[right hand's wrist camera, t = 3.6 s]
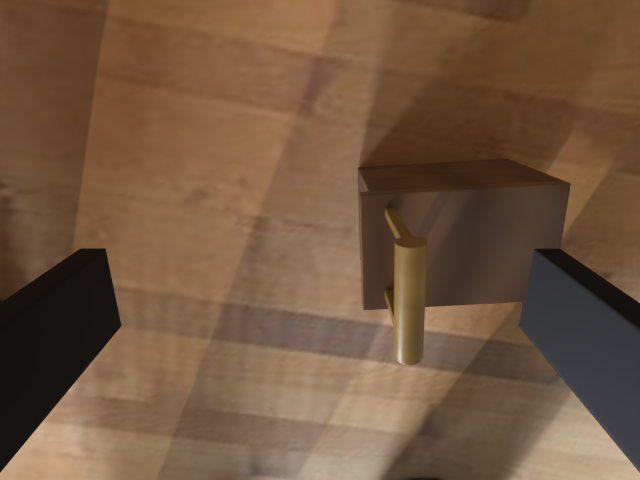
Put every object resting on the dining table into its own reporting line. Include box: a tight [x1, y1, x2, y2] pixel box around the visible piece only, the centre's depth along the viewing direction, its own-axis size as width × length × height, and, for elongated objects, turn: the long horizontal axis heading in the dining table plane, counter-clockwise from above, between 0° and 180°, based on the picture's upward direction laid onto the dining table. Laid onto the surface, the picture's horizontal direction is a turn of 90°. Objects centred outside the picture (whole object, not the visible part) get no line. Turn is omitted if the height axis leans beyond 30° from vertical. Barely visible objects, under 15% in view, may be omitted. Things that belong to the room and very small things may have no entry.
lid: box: [359, 180, 571, 365], centre depth 26 cm, size 14×9×9 cm, turn 93°
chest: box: [358, 159, 560, 260], centre depth 35 cm, size 14×9×9 cm, turn 93°
